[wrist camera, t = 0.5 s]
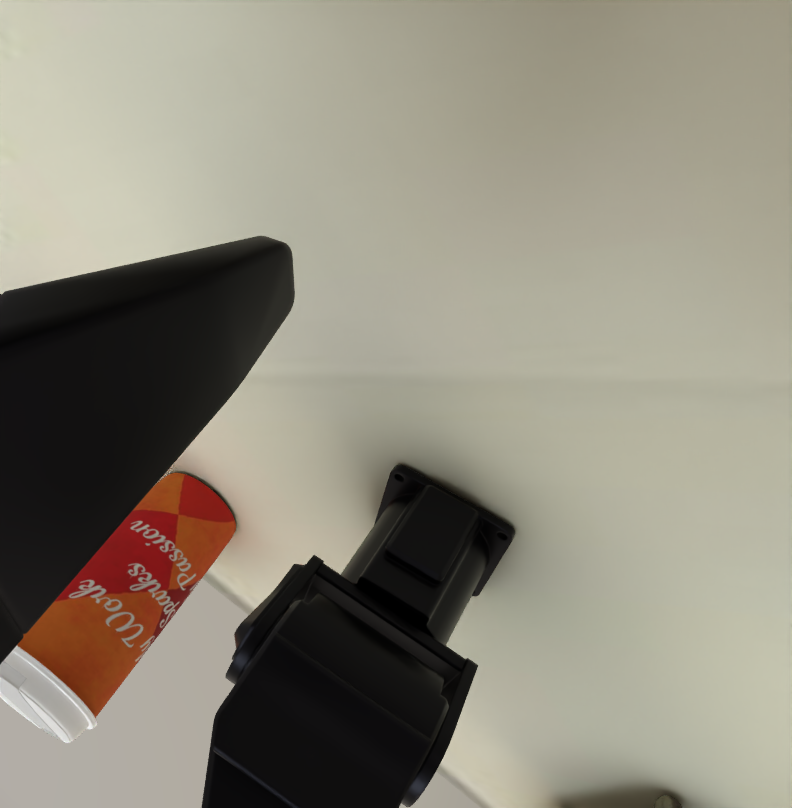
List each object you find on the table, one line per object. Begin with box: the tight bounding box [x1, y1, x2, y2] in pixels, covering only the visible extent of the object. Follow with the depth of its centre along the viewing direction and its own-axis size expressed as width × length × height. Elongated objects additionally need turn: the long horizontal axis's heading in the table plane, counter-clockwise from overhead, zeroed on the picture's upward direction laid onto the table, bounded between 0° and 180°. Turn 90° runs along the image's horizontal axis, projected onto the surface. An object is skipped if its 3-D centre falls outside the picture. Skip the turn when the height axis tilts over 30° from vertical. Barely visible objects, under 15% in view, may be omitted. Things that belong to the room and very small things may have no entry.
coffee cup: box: [0, 473, 236, 743], centre depth 42 cm, size 8×8×15 cm
